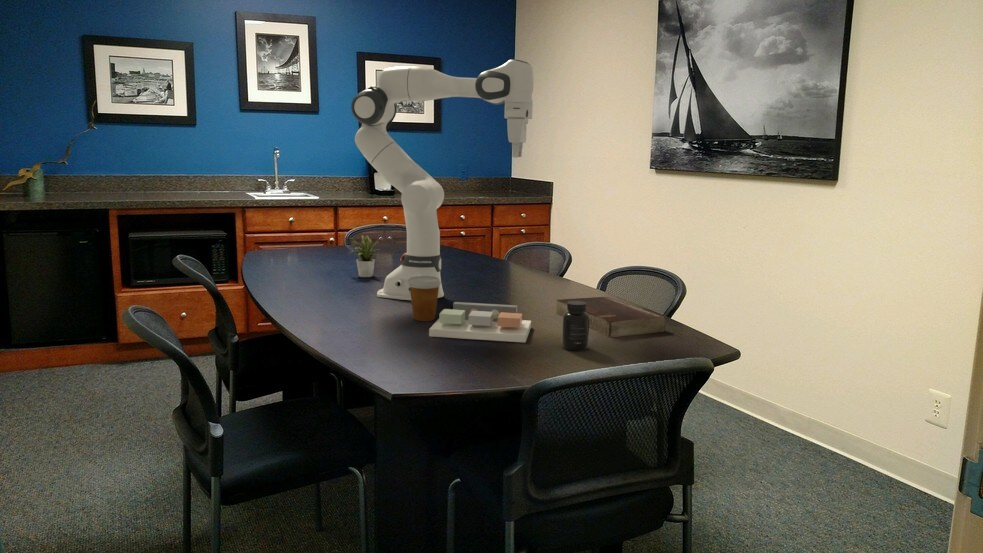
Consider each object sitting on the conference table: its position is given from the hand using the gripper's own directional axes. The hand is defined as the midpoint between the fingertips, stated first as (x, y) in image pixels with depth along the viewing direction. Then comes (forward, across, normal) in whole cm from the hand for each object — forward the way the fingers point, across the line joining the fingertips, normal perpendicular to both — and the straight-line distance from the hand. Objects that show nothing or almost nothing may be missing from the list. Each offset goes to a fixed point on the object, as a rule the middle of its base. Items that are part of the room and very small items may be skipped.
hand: (517, 157), depth 227 cm
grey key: (+45, +42, -4) cm, 62 cm away
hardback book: (+48, +21, +31) cm, 61 cm away
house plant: (+48, -31, -62) cm, 84 cm away
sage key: (+45, +42, -12) cm, 63 cm away
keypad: (+47, +41, -4) cm, 63 cm away
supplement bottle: (+47, +51, +22) cm, 73 cm away
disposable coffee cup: (+48, +30, -23) cm, 61 cm away
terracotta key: (+45, +42, +4) cm, 62 cm away
